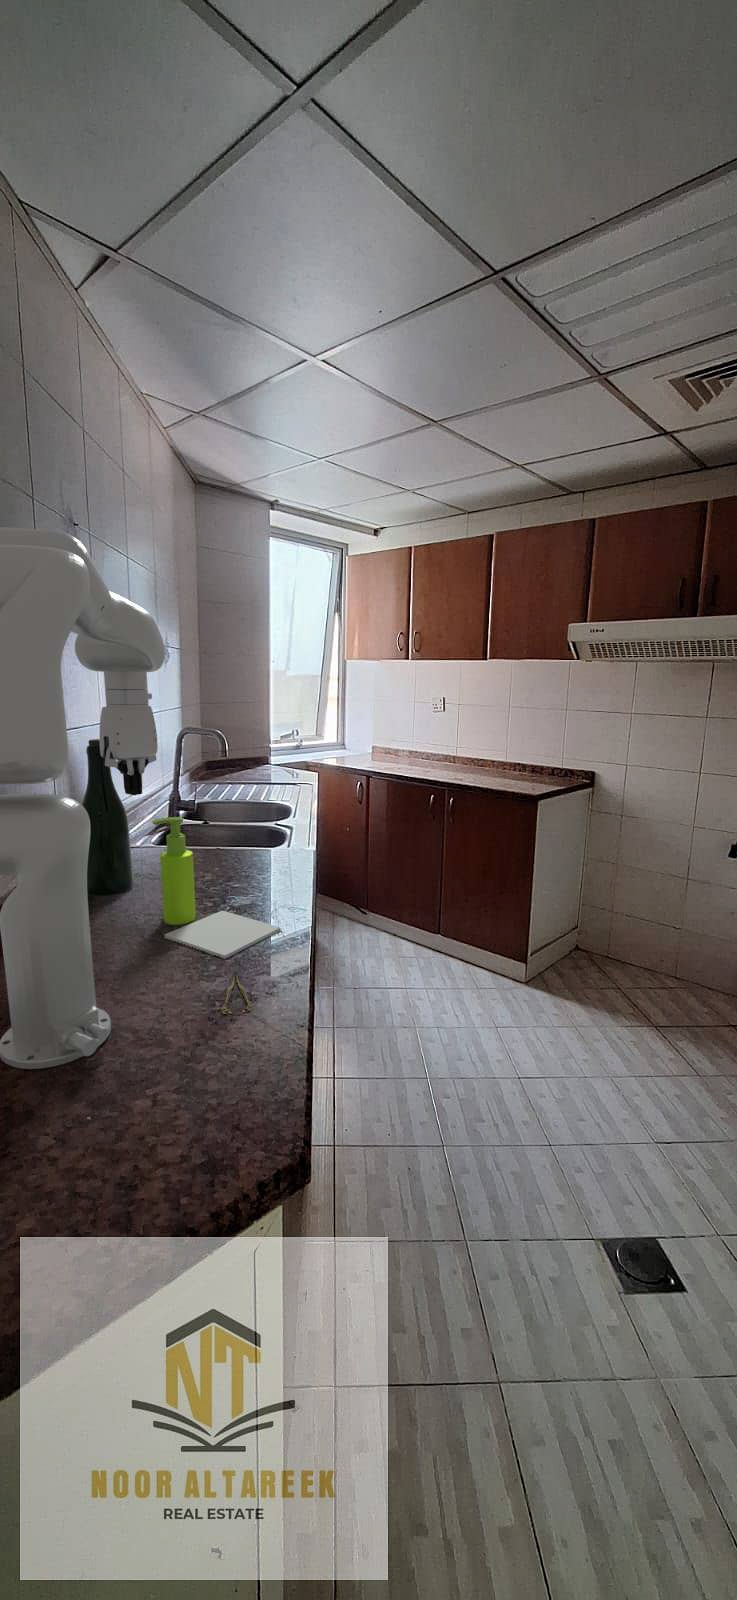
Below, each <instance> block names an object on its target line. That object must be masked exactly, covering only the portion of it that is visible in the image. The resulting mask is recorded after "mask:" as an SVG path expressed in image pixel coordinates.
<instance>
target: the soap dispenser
mask: <svg viewBox="0 0 737 1600" xmlns="http://www.w3.org/2000/svg"><path fill="white" fill-rule="evenodd" d="M151 822H152V824H153V825H154V826H158V825H161V824H169V823H170V833H168V834H167V835H166V851H163V852H161V853H160V855H159V856H160V872H161V873H160V874H161V892H162V894H161V895H162V911H163V922H164V923H165V924H167V925H172V926H173V925H174V926H176V925H177V926H178V925H185V924H186V925H187V924H190V923H193V922H194V921H196V917H197V916H196V914H197V913H196V912H197V911H196V894H195V870H194V867H195V866H194V853H193V851H192V850H189V849H187V848H186V846H187V845H186V834H184V833H182V832H181V823H184V818H183V817H178V816H175V817H174V816H173V817H172V816H171V817H162V818H157V819H155V820H153V821H151Z"/></svg>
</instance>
